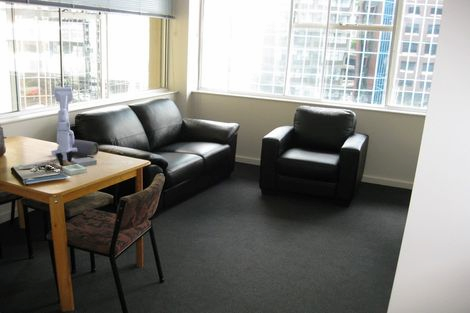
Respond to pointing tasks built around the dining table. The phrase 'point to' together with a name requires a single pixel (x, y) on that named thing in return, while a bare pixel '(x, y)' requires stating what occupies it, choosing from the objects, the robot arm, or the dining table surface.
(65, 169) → the tray
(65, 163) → the roller
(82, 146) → the bluetooth speaker
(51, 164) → the bar
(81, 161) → the slab
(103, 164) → the dining table surface
